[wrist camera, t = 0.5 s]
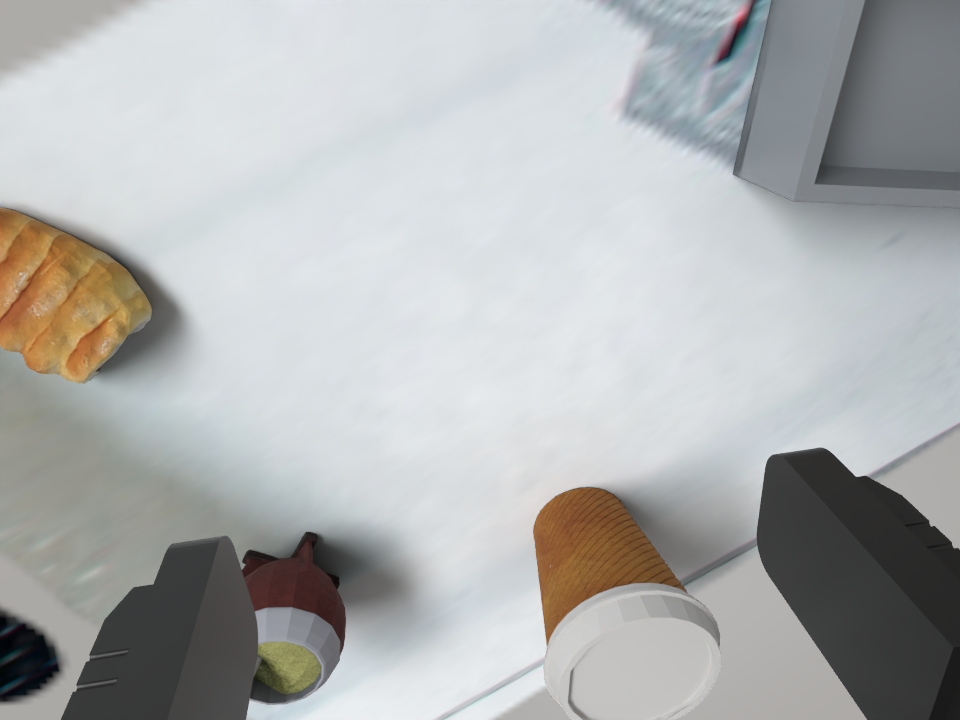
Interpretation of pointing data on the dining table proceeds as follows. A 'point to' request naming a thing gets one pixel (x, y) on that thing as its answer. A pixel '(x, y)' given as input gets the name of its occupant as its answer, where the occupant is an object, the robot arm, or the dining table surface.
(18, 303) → the pastry
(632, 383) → the dining table surface
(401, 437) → the dining table surface
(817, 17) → the bin
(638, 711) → the disposable coffee cup
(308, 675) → the mate gourd
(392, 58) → the dining table surface
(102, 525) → the dining table surface
